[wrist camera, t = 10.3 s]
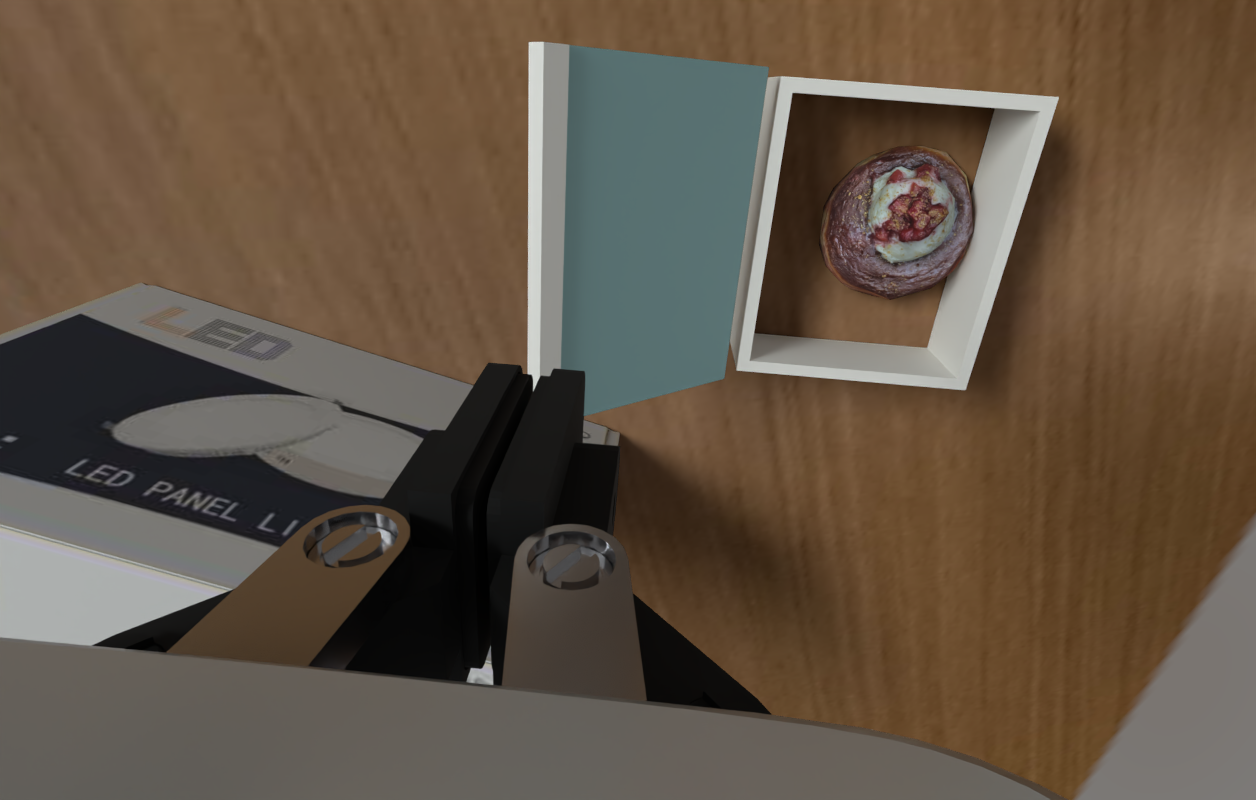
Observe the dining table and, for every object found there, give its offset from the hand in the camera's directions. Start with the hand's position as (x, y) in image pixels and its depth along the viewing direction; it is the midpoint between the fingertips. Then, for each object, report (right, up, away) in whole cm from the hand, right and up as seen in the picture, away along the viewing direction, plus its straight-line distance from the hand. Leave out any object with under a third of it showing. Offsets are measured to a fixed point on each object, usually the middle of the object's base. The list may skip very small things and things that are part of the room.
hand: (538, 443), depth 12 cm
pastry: (+16, +11, +24) cm, 31 cm away
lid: (+3, +7, +16) cm, 18 cm away
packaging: (-14, +1, +31) cm, 34 cm away
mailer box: (+14, +10, +24) cm, 30 cm away
